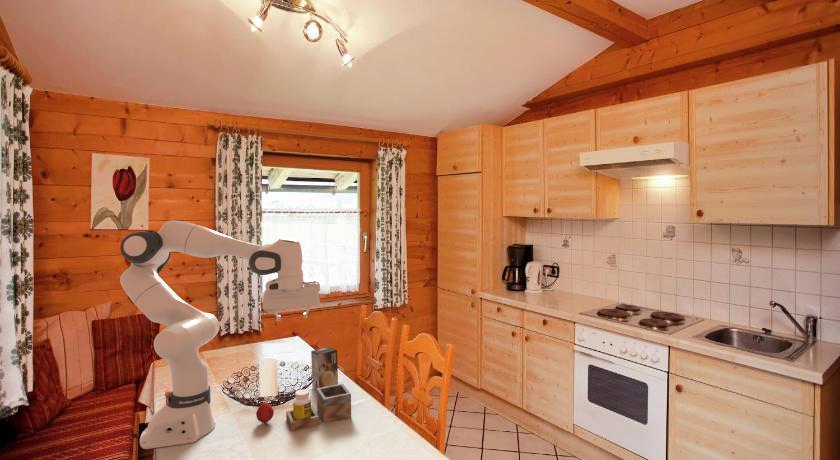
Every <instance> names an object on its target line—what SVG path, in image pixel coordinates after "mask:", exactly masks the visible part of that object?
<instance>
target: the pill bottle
mask: <svg viewBox="0 0 840 460" xmlns="http://www.w3.org/2000/svg"><path fill="white" fill-rule="evenodd" d="M309 395H310V391H309V390H308V389H305V388H304V389H299V390H296V391H295V393H294V396H295V397H294V398H293V401H292V408H293V409H292V410H293V420H294V421H296V420H300V419H305V418H309V417H311V406H312V399H311V398H312V397H310V396H309Z"/></svg>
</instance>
